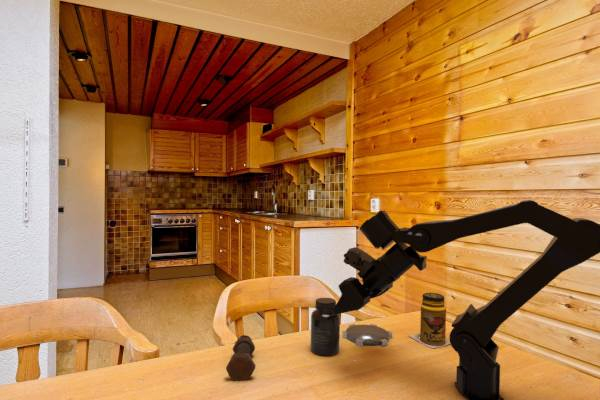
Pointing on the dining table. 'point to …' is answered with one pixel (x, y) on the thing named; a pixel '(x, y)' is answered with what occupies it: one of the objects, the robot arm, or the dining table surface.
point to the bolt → (241, 360)
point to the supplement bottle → (325, 328)
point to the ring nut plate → (367, 335)
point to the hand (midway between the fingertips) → (343, 307)
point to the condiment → (432, 321)
